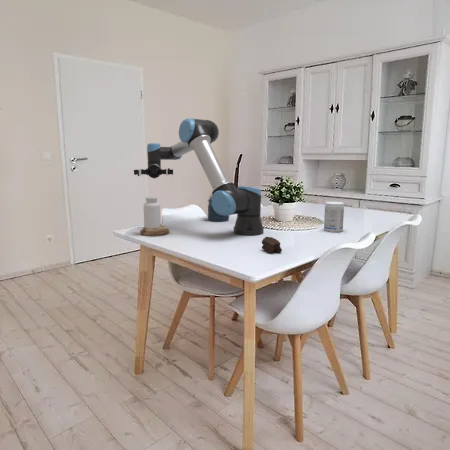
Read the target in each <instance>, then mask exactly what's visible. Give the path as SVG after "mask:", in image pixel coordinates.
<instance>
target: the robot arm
mask: <svg viewBox="0 0 450 450" xmlns="http://www.w3.org/2000/svg"><path fill="white" fill-rule="evenodd" d="M219 130H220V129H219V127H218V125H217V124H216V123H215V122H214V121H212V120H209V119H200V118H193V117H192V118H191V117H190V118H185V119H183V120H182V121H181V122H180V124H179V128H178V136H179V138H178V139H179V140H180V141H179V142H176V143H175V144H173V145H171V146H161V143H158V142H157V143H156V142H155V143H153V142H152V143H151V142H149V143H147V147H146V152H147V168H146V169H143V168H140V169H133V175H134V176H136V175H137V177H140V176H143V175H146V176H148V177H150V178H152V179H157V178H159V177H160V176H161V175H166V176H169V175H174V169H172V168H171V169H170V168H167V169H166V168H164V169H162V163H161V162H162V161H165V160H171V161H172V160H173V161H176V160H177V161H178V160H181V158H182V157H183V156H184V155H185V154H187V153H190V152H192V151H194V153H195V155H196V158H197V159H198V161H199V163H200V165H201V168H202V170H203V172H204V174H205V175H206V178H207V180H208V182H209V184H210V186H211V187H212V190H211V195H212V197H211V200H212V202H211V204H212V207H213V209H214V211H215V212H216V213H218V214H219V215H229V216H232V215H236V219H235V223H234V226H233V233H234V234H237V235H240V236H241V235H242V236H257V235H262V234H263V233H264V230H265V229H264V227H263V221H262V219H261V214H262V213H261V209H262V190H261V188H259V187H254V186H253V187H251V186H246V185H245V186H243V185H242V186H241V185H238V187H237V186H235V183H234V182H232V181H230V180H229V178H228V176H227V174H226V172H225V170H224V169H223V167H222V164H221V163H220V160H219V158H218V157H217V155H216V152H215V150H214V148H213V146H212V144H213V143H214V142H216V141H217V139H218V137H219V134H220V133H219V132H220V131H219Z"/></svg>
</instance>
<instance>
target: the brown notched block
mask: <svg viewBox="0 0 450 450" xmlns="http://www.w3.org/2000/svg"><path fill="white" fill-rule="evenodd" d="M261 245H262V246H261V249H262V250H263V251H265V252H267V253H269V254H272V253H273V252H274V253H276V254H280V253H282V251H283V249H282V247H281V242H280V241H279V240H278V239H276V238H274V237H272V236H271V237H270V236H265V237H264V238H263V239H262V240H261Z"/></svg>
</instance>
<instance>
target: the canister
mask: <svg viewBox="0 0 450 450" xmlns="http://www.w3.org/2000/svg"><path fill="white" fill-rule="evenodd" d="M208 197H209V198H208V200H207V202H208V205H207V220H208V221H210V222H228V221H229V220H230V215H219V214H218V213H216V212H215V211H214V209H213V207H212V204H211V202H212V200H211V197H212V194H210V195H209V196H208Z"/></svg>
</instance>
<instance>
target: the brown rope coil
mask: <svg viewBox="0 0 450 450" xmlns="http://www.w3.org/2000/svg"><path fill="white" fill-rule="evenodd" d="M139 233H140V234H139V235H141V236H144V237H161V236H166V235H169V234H170V228H167V227H166V226H165V225H160V228H157V229H147V228H145V227H144V226H143V227H142V229H140V232H139Z"/></svg>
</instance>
